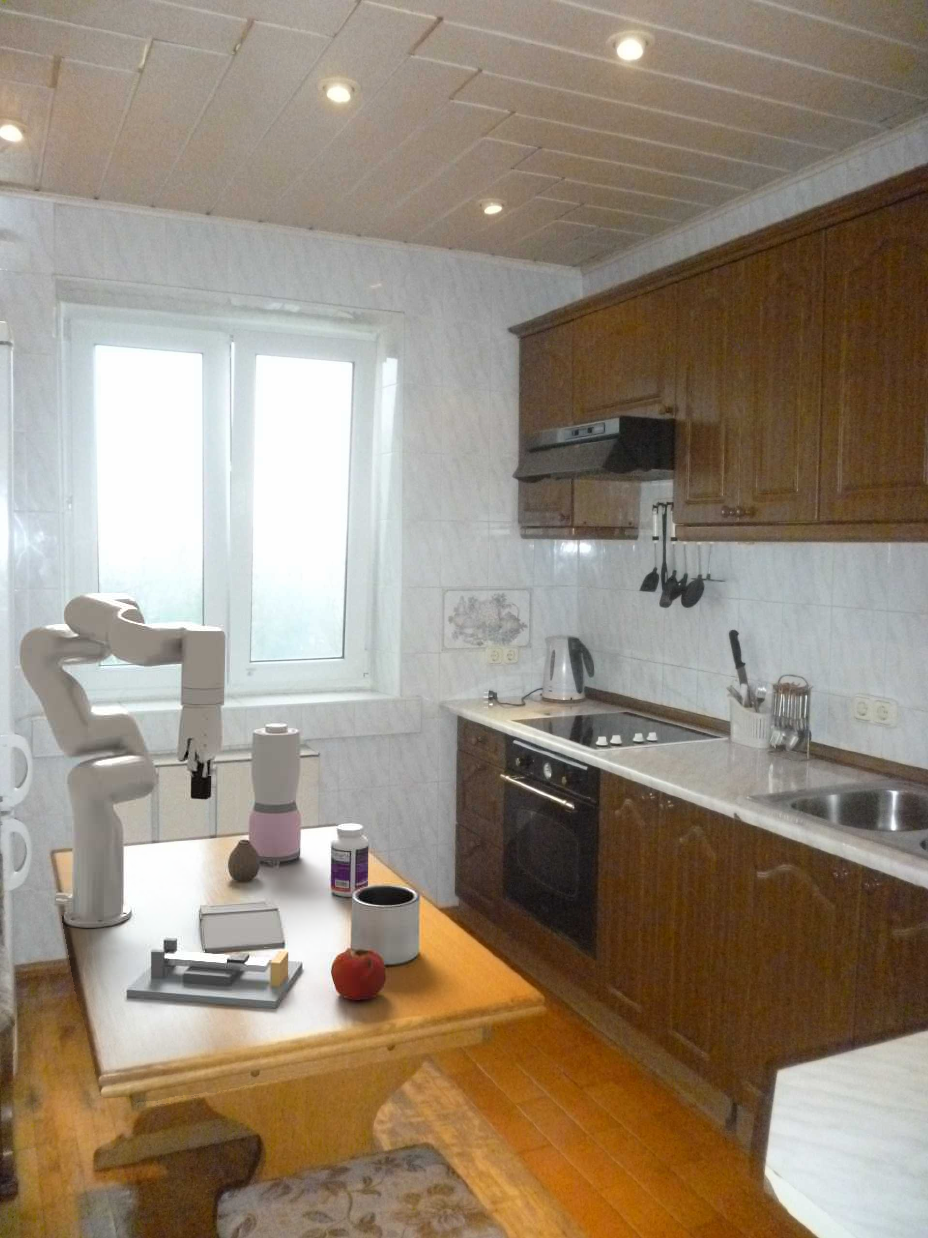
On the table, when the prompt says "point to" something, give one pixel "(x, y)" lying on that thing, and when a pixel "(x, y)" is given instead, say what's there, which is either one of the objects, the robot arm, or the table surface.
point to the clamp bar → (218, 961)
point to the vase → (243, 862)
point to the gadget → (240, 926)
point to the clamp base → (215, 994)
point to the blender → (275, 794)
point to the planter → (386, 922)
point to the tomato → (358, 974)
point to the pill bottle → (349, 860)
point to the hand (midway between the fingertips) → (200, 797)
